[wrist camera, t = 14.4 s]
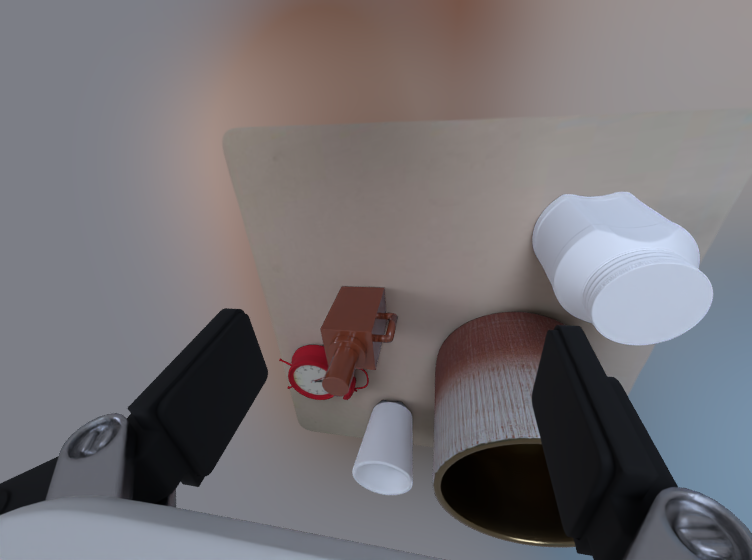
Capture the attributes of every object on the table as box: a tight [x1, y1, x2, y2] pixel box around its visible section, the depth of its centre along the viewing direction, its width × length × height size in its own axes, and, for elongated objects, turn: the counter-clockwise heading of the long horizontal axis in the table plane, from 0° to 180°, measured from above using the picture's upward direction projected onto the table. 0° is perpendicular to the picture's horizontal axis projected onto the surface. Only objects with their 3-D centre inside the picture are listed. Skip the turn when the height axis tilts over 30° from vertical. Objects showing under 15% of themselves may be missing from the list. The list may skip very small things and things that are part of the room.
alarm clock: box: [279, 345, 369, 400], centre depth 58 cm, size 10×6×15 cm
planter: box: [433, 312, 576, 547], centre depth 43 cm, size 22×22×20 cm
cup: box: [352, 400, 413, 495], centre depth 58 cm, size 10×10×13 cm
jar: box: [532, 192, 713, 345], centre depth 33 cm, size 12×10×15 cm
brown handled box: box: [320, 286, 398, 396], centre depth 44 cm, size 7×9×16 cm
